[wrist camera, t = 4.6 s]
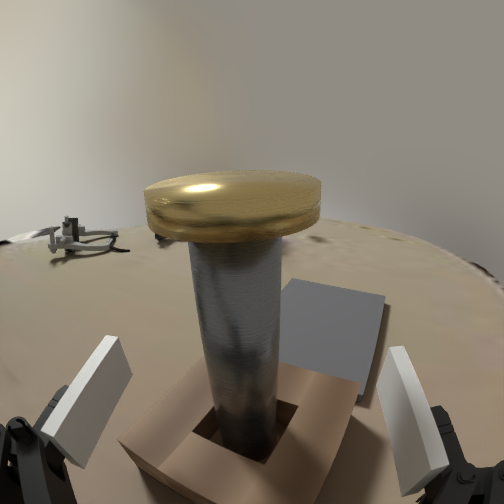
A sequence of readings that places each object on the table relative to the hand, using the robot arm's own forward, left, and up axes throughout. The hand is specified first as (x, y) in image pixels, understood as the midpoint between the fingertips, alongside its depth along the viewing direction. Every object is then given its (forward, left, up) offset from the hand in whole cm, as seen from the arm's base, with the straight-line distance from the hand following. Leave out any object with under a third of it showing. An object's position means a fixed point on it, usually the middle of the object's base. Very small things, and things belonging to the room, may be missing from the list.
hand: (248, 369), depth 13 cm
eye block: (-1, +1, -10) cm, 10 cm away
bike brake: (-52, +23, -10) cm, 58 cm away
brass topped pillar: (-1, +1, -9) cm, 9 cm away
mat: (-1, +17, -10) cm, 19 cm away
